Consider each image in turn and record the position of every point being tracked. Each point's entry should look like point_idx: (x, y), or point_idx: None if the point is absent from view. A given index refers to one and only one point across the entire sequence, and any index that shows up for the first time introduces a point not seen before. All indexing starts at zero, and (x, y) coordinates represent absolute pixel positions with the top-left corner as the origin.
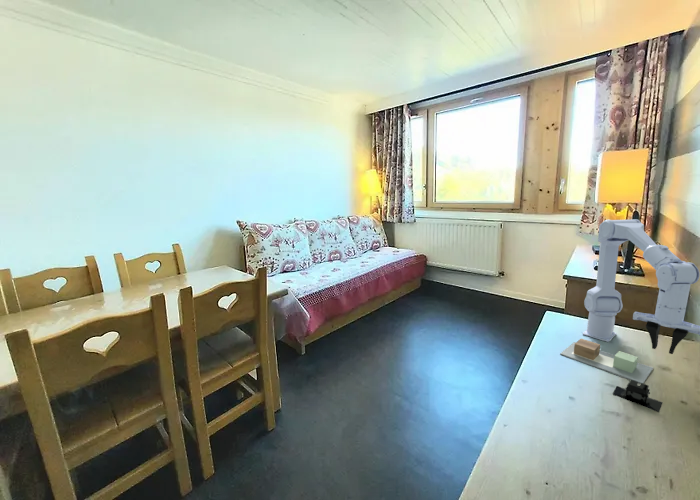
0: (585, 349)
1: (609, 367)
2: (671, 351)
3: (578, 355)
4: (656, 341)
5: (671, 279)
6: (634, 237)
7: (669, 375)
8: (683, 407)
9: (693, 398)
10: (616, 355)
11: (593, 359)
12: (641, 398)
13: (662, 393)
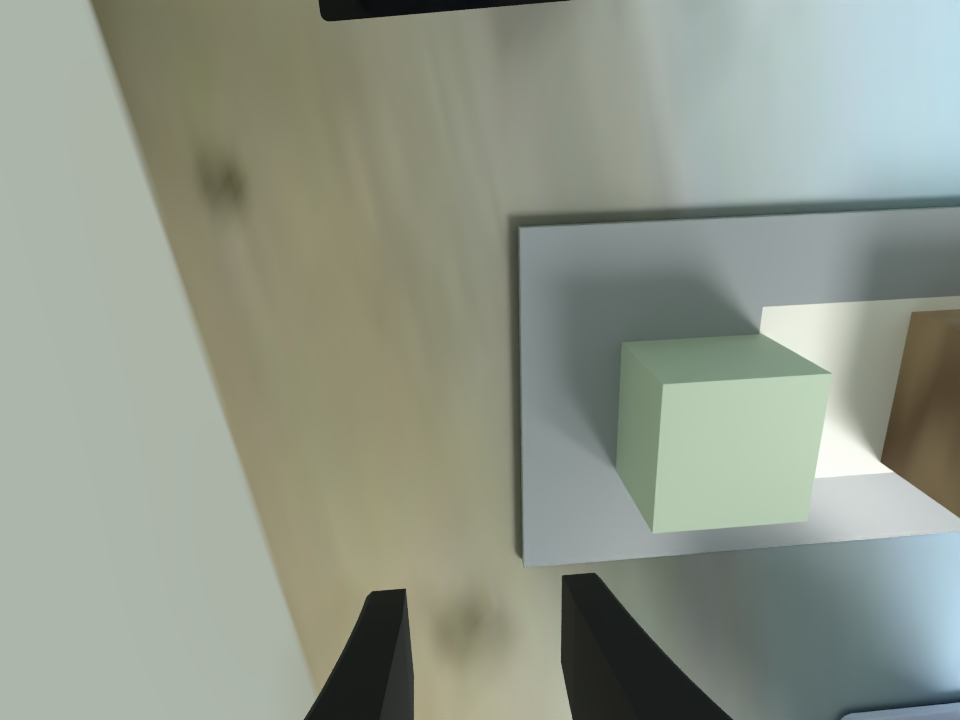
0: None
1: (782, 289)
2: (374, 613)
3: None
4: (599, 705)
5: None
6: None
7: (417, 550)
8: (191, 82)
9: (200, 322)
10: (817, 401)
11: (915, 320)
12: None
13: (370, 199)
